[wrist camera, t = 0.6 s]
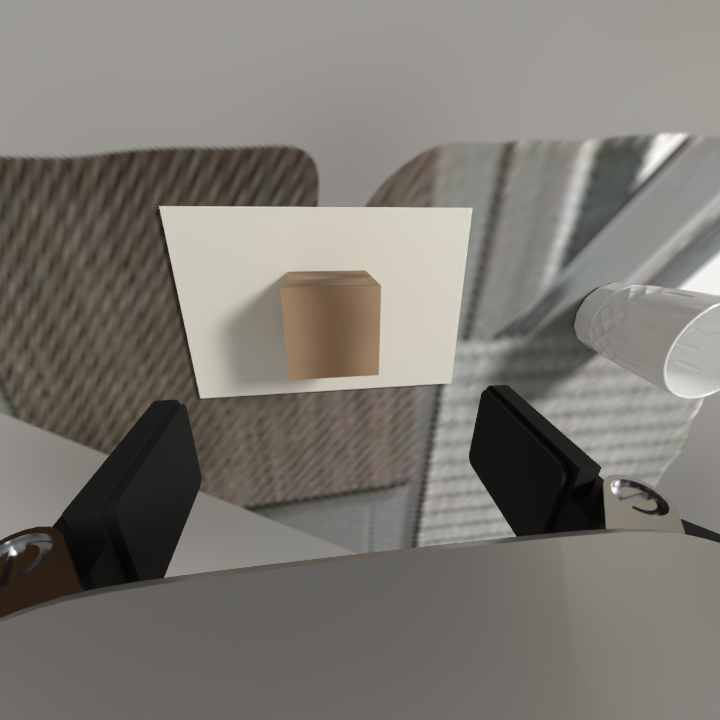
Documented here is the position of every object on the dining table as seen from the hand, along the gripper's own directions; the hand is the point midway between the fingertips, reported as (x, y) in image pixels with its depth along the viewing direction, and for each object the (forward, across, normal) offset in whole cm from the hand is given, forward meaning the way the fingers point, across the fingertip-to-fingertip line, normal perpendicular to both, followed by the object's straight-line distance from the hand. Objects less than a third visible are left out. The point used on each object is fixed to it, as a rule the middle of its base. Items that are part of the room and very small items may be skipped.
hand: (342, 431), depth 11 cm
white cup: (+20, -28, +2) cm, 35 cm away
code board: (+20, 0, +1) cm, 20 cm away
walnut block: (+19, 0, +1) cm, 19 cm away
